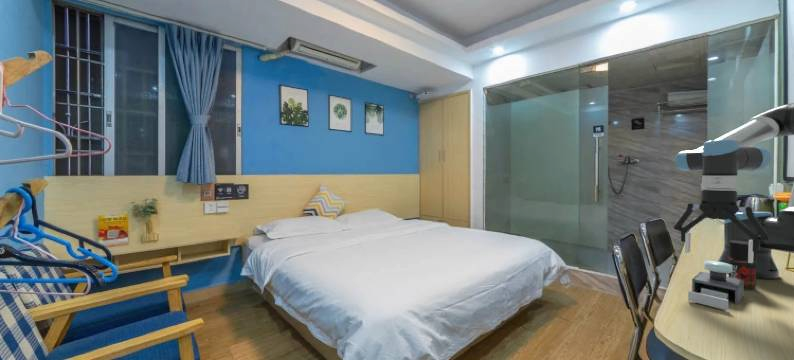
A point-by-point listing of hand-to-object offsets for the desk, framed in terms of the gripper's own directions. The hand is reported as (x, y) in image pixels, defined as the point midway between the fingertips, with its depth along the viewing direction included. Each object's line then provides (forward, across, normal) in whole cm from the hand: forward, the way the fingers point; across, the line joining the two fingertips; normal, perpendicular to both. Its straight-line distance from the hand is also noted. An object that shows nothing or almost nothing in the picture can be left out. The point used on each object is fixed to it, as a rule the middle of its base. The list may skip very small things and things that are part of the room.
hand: (717, 257), depth 94 cm
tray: (+12, 0, -8) cm, 14 cm away
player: (+12, 0, 0) cm, 12 cm away
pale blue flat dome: (+4, 0, 0) cm, 4 cm away
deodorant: (+12, +4, +15) cm, 20 cm away
